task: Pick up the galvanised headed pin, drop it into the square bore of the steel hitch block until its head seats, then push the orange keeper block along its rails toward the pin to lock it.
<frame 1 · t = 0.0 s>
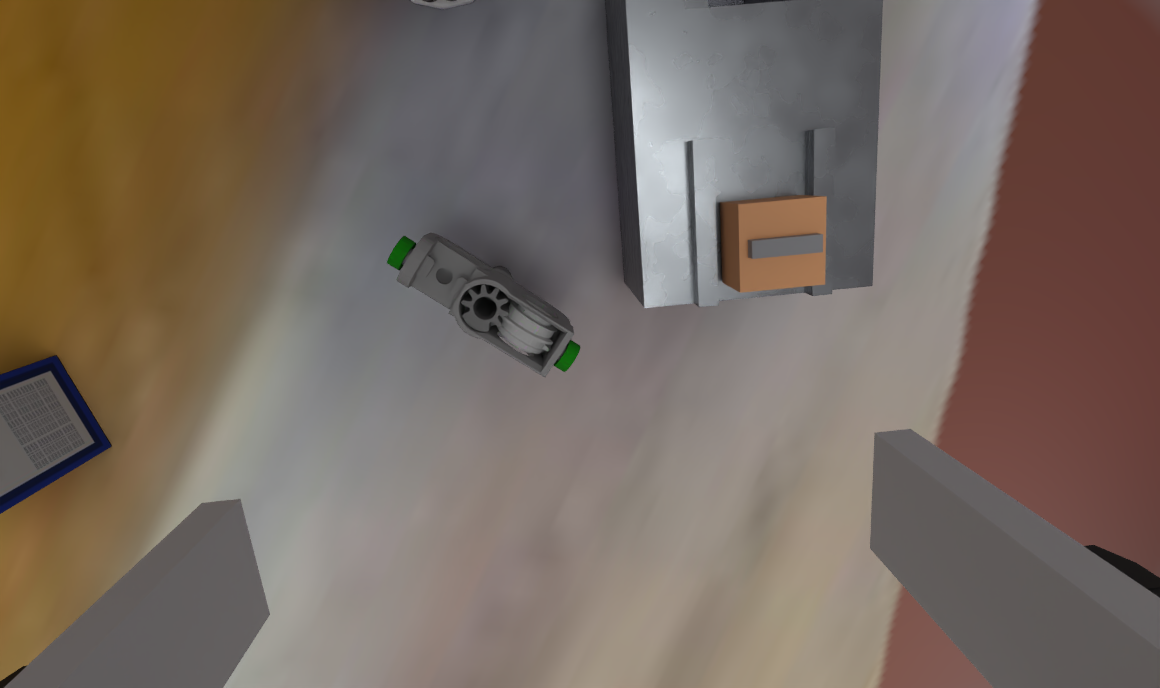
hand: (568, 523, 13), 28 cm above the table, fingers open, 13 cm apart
milk carton: (40, 417, 40), on the table
mechanical component: (500, 278, 40), on the table
keeper: (773, 242, 29), point 11 cm above the table, slide at 0.0 cm
hitch block: (709, 93, 37), on the table
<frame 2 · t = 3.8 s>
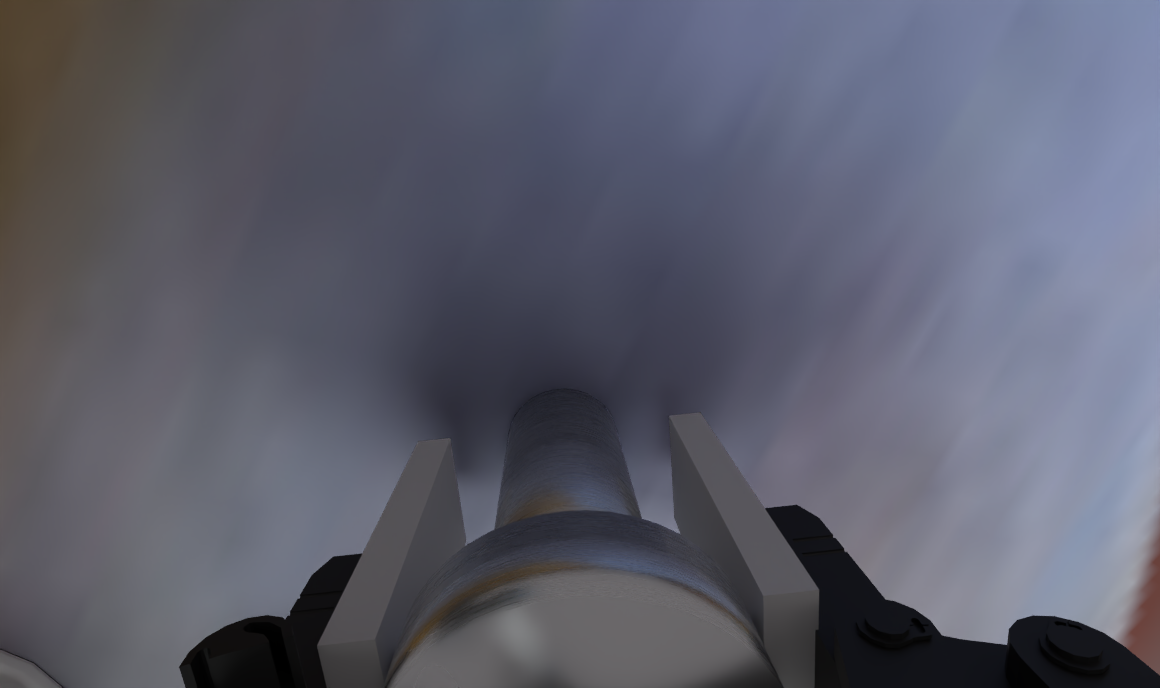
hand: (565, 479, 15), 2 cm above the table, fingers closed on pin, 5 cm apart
pin: (563, 440, 17), on the table, touching gripper
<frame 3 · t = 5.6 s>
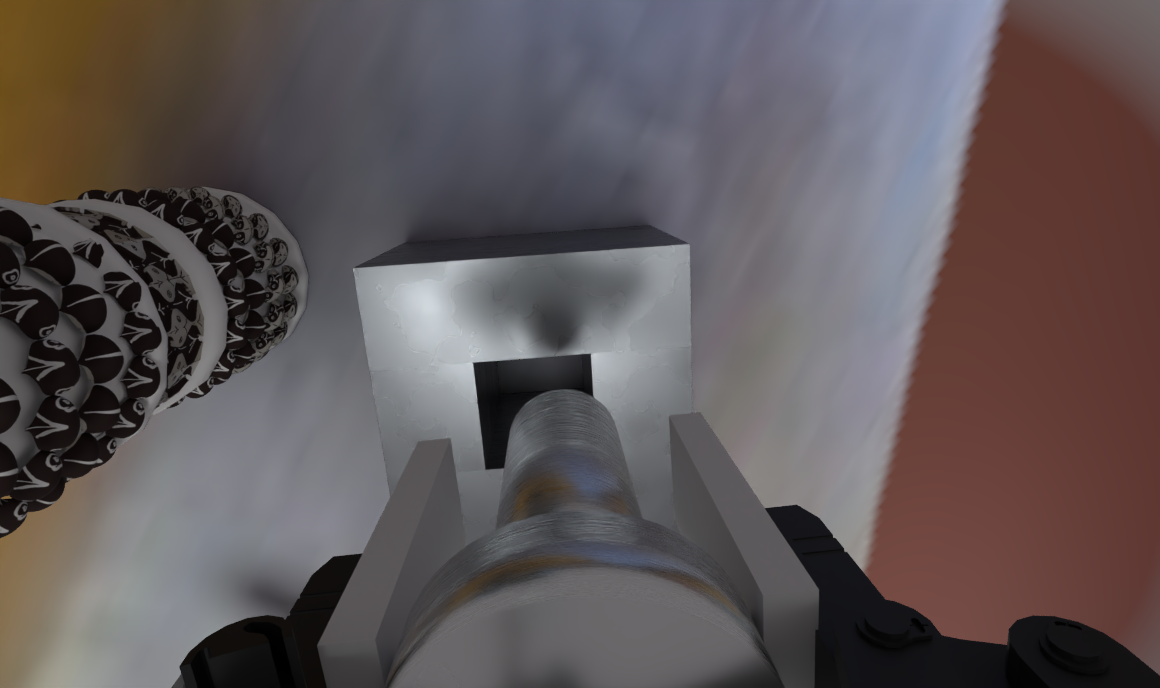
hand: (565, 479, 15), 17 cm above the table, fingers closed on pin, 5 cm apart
pin: (563, 440, 17), point 15 cm above the table, touching gripper
hitch block: (546, 440, 33), on the table
decorative candle: (223, 275, 30), on the table
when the fingers open (10 cm above the table, at t = 7.3 s): pin drops 7 cm, resting on hitch block.
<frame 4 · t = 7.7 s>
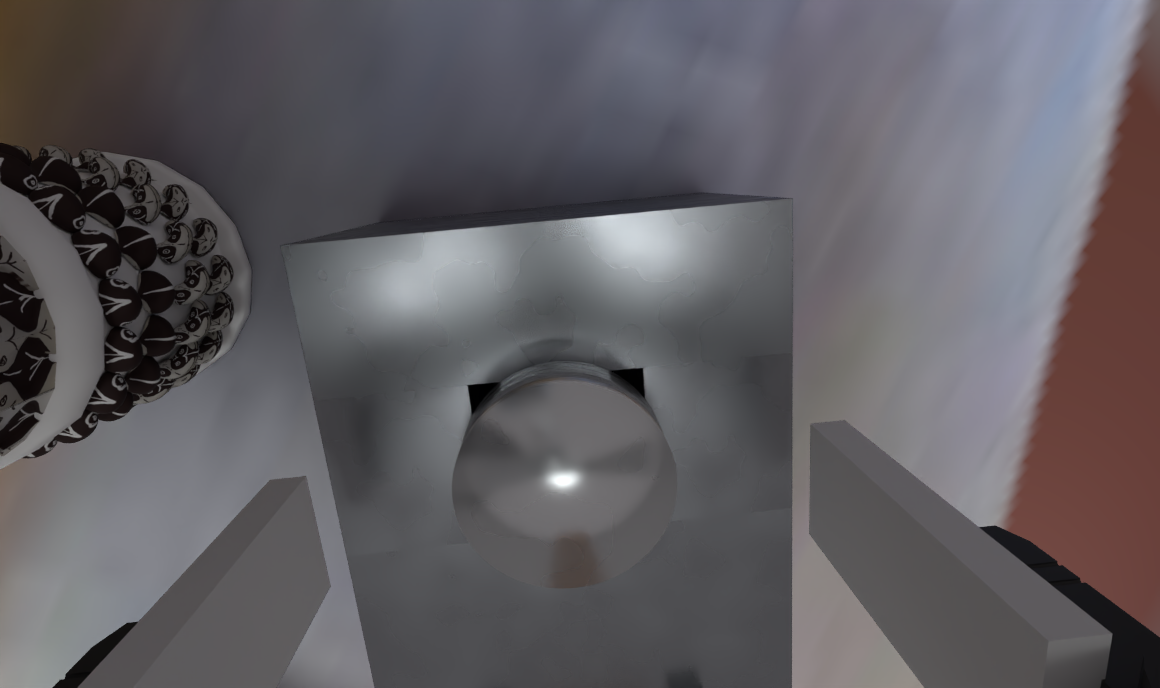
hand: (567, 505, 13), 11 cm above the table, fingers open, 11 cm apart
pin: (557, 365, 24), resting on hitch block
hitch block: (569, 478, 25), on the table
decorative candle: (138, 272, 23), on the table
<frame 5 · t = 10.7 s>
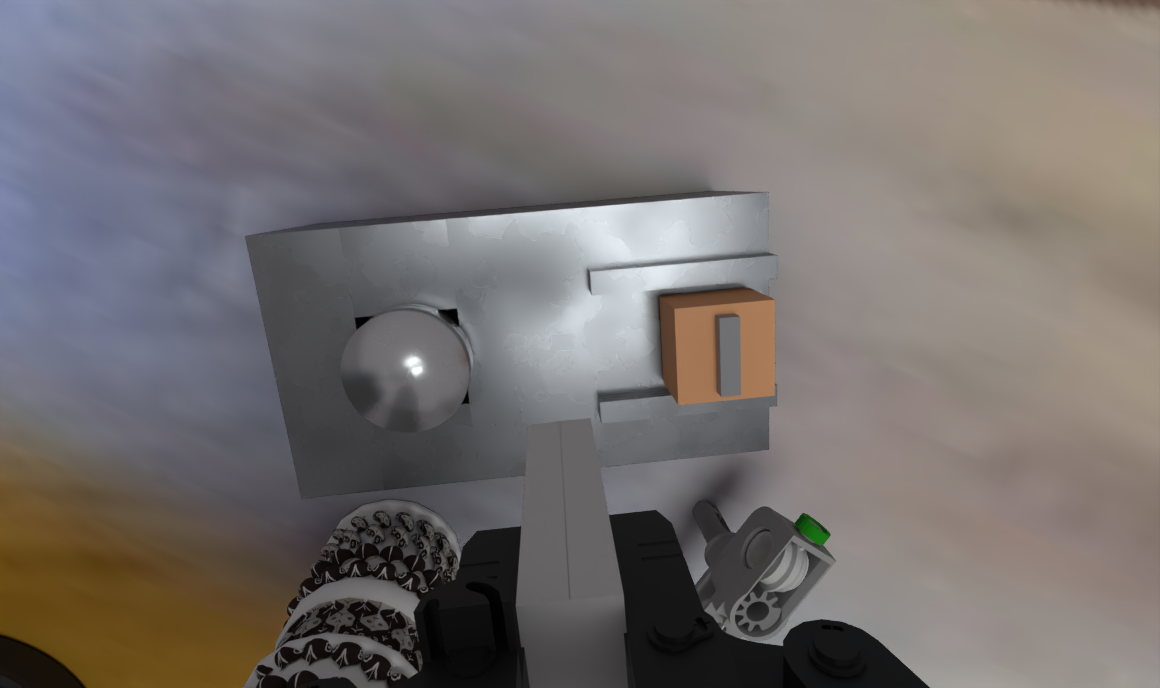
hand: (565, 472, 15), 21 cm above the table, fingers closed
pin: (441, 322, 35), resting on hitch block
mechanical component: (704, 509, 40), on the table
keeper: (717, 345, 26), point 11 cm above the table, slide at 0.0 cm
hitch block: (528, 312, 35), on the table
decorative candle: (395, 556, 39), on the table
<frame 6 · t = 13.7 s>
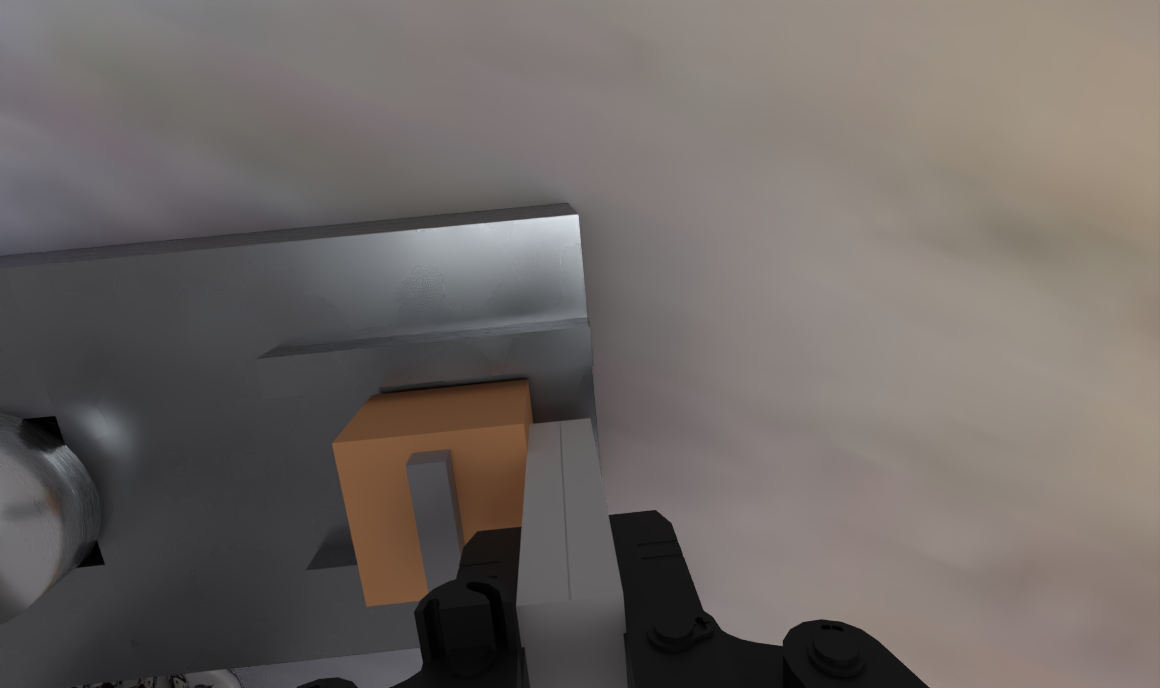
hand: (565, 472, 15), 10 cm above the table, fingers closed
pin: (178, 396, 24), resting on hitch block
keeper: (450, 491, 14), point 11 cm above the table, slide at 0.7 cm, touching gripper
hitch block: (308, 381, 25), on the table
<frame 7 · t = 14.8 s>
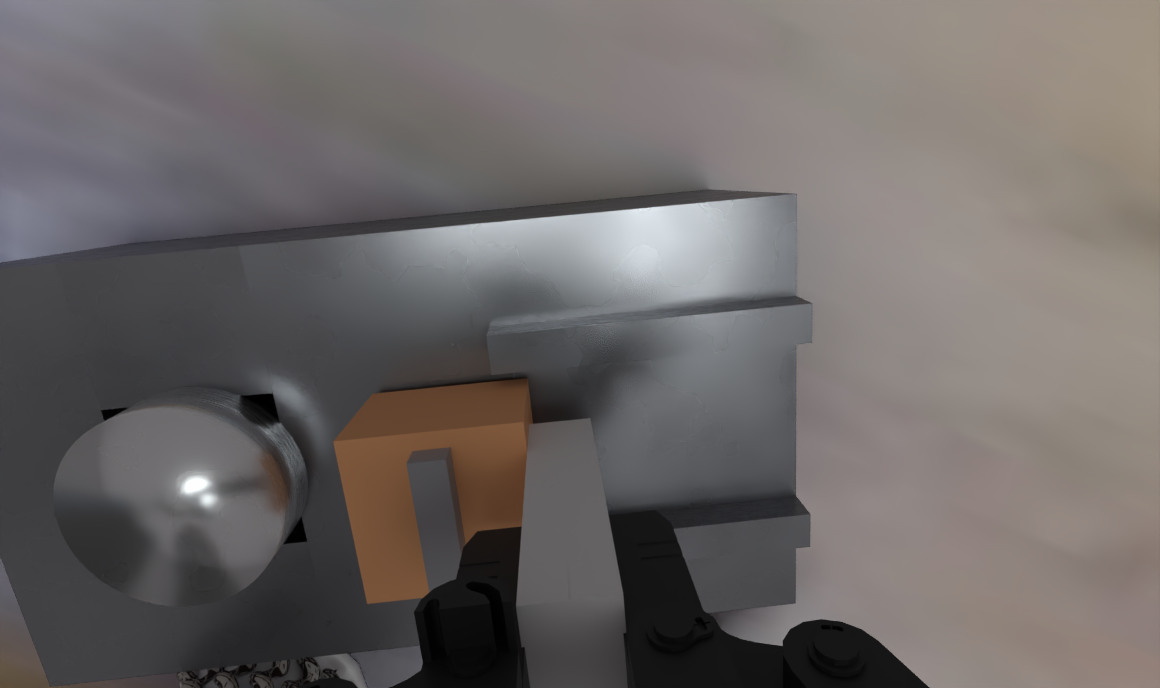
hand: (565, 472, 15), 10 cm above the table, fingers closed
pin: (318, 382, 24), resting on hitch block
keeper: (450, 489, 15), point 11 cm above the table, slide at 6.2 cm, touching gripper
hitch block: (445, 367, 25), on the table
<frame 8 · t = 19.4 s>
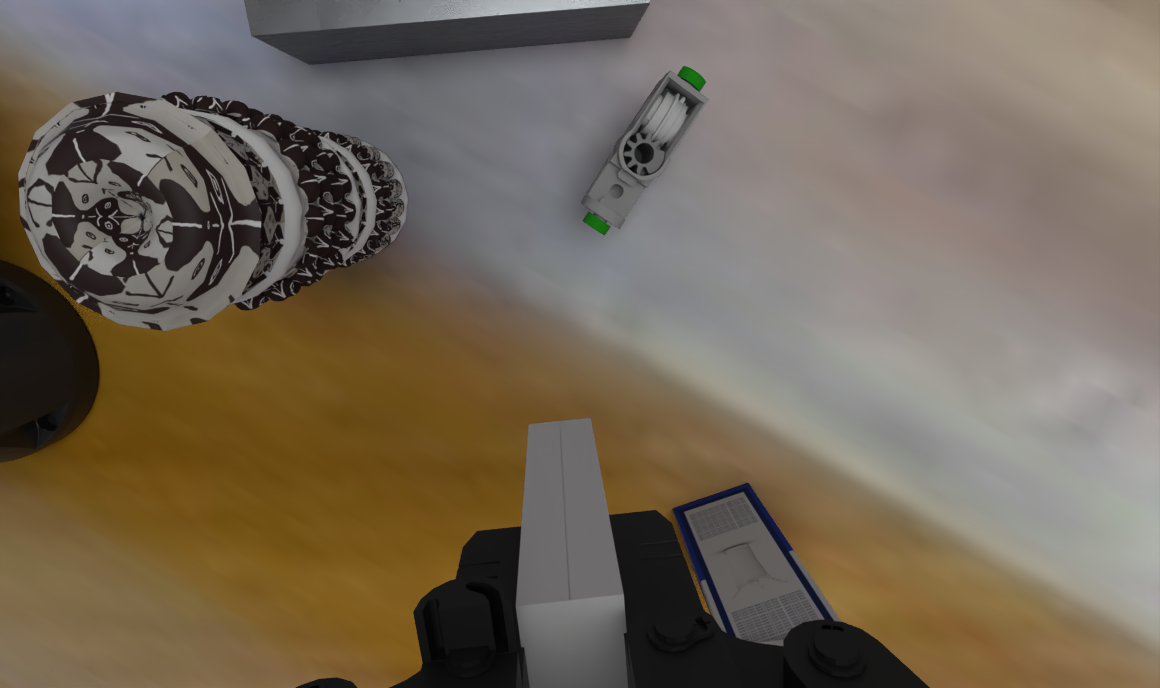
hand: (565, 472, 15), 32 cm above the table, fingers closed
milk carton: (720, 527, 53), on the table
mechanical component: (623, 159, 45), on the table
decorative candle: (349, 198, 44), on the table
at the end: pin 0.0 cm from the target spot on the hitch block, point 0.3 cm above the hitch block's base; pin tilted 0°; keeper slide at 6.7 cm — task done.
